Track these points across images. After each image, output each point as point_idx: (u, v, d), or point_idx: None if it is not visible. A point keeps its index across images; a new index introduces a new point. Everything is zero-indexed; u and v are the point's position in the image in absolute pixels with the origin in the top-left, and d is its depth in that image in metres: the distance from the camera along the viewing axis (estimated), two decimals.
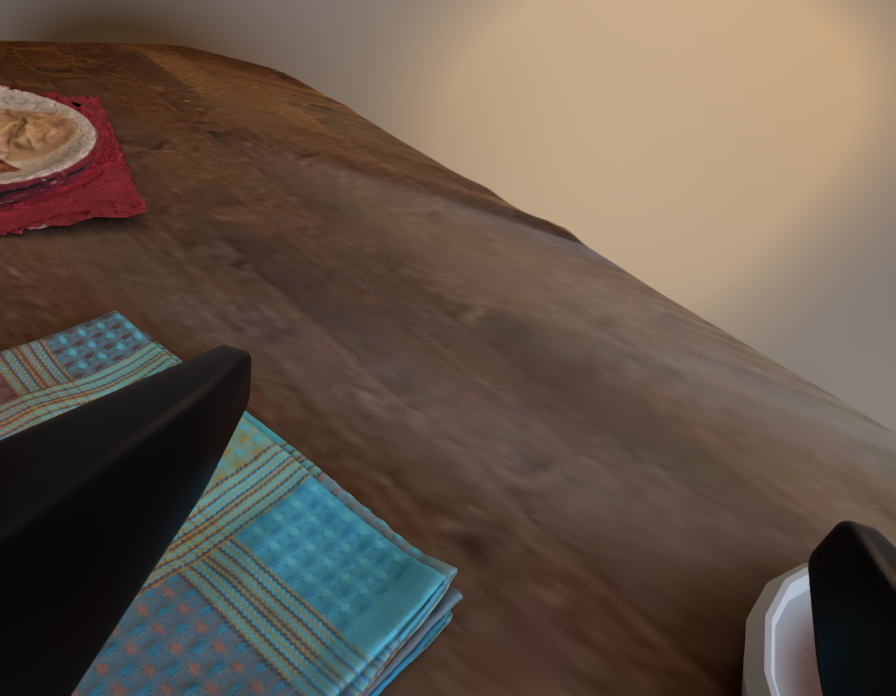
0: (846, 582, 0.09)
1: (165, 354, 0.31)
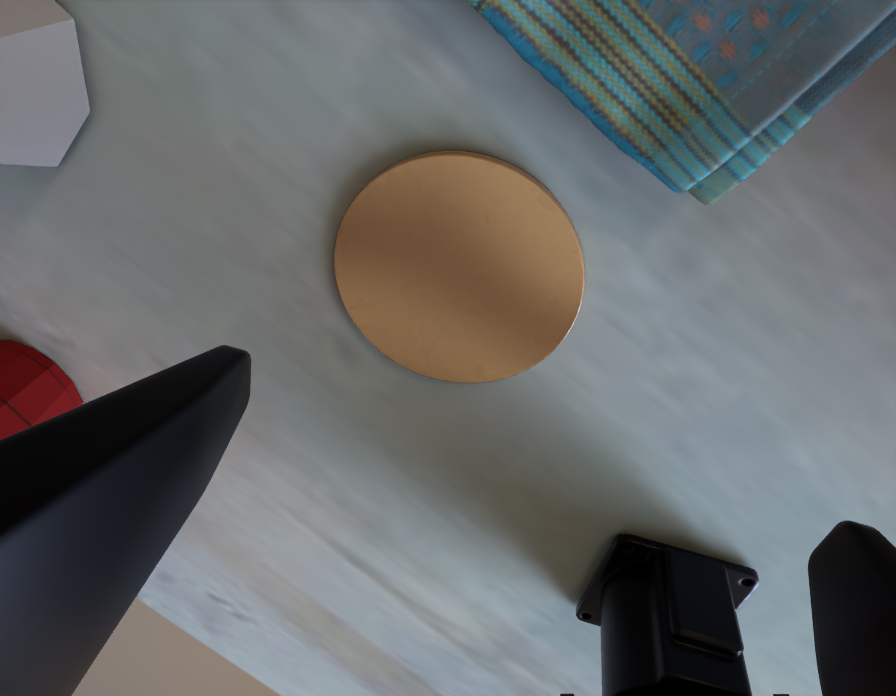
0: (846, 582, 0.09)
1: None
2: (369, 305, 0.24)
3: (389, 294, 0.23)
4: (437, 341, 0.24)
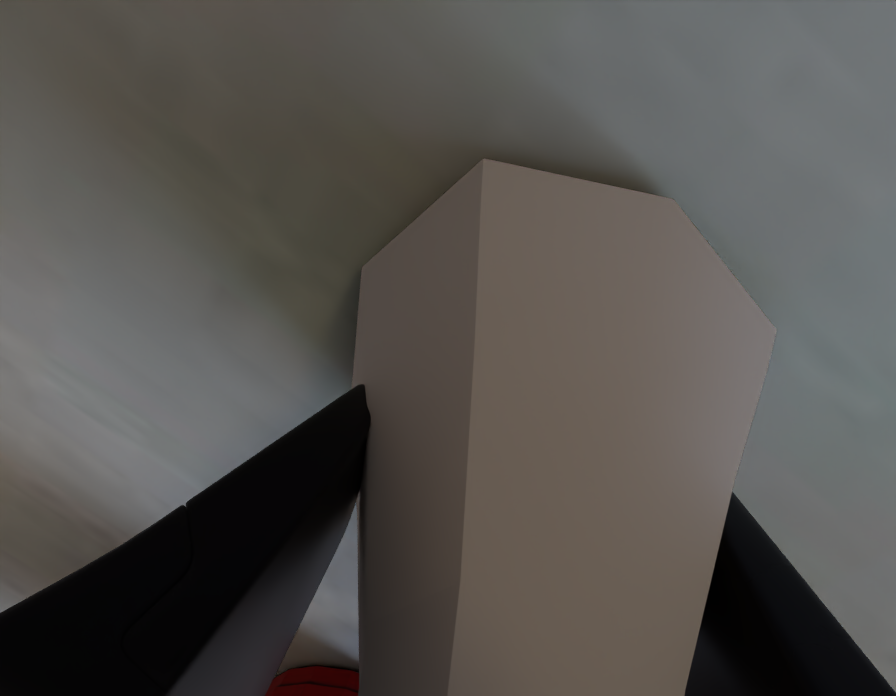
0: None
1: None
2: None
3: None
4: None
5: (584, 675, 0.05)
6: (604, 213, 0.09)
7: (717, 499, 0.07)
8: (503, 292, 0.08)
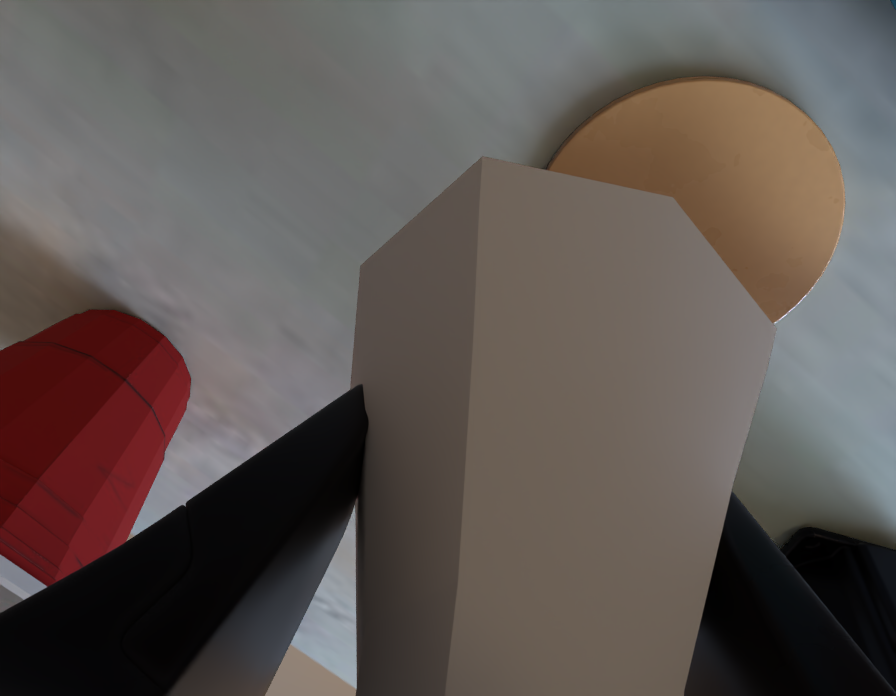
0: None
1: None
2: None
3: None
4: None
5: (583, 675, 0.05)
6: (603, 211, 0.09)
7: (716, 498, 0.07)
8: (502, 291, 0.08)
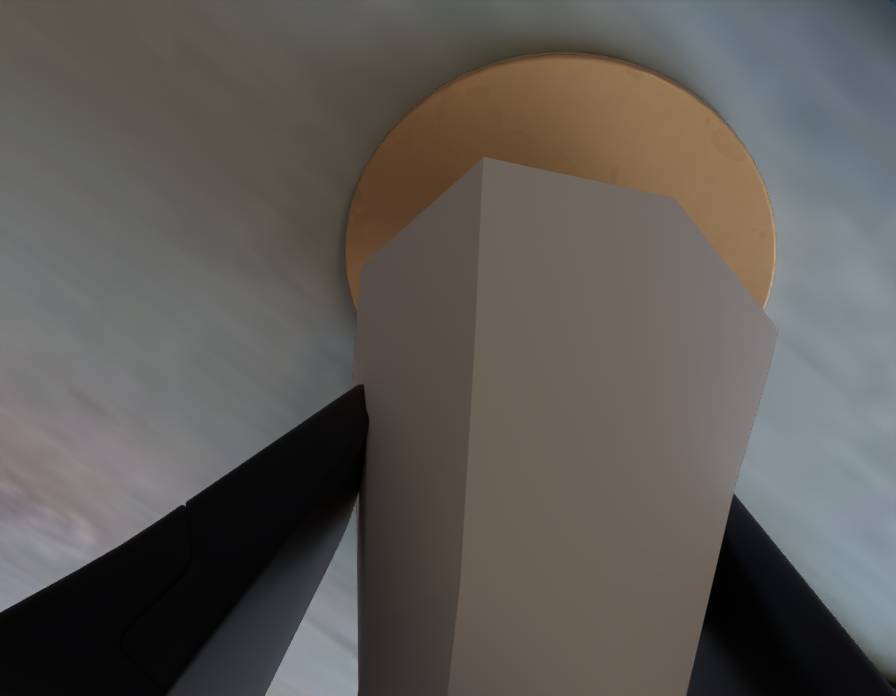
0: None
1: None
2: None
3: None
4: None
5: (585, 678, 0.05)
6: (604, 211, 0.09)
7: (718, 500, 0.07)
8: (503, 292, 0.08)
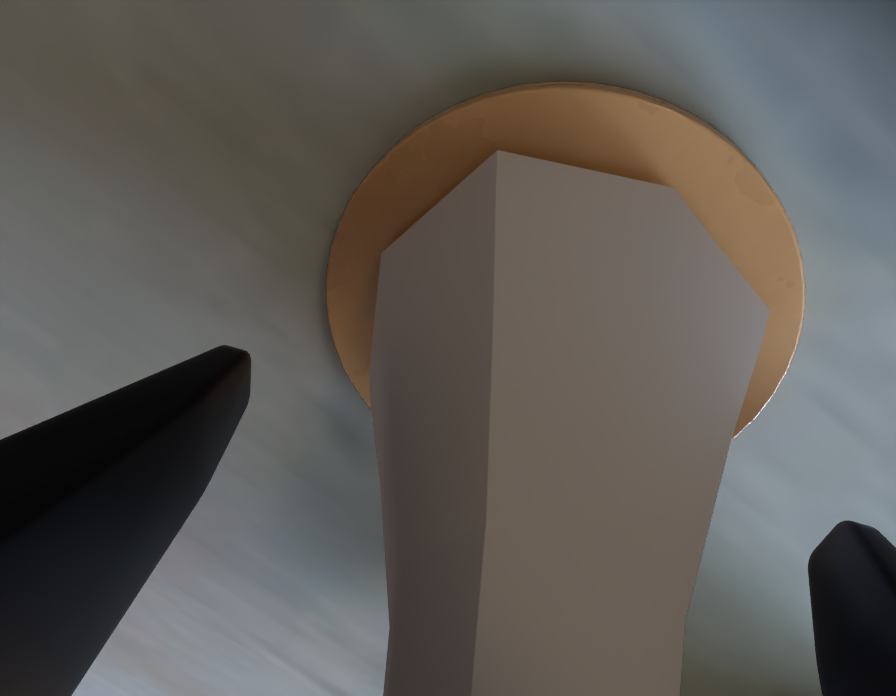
0: (846, 582, 0.09)
1: None
2: None
3: None
4: None
5: (597, 600, 0.06)
6: (610, 200, 0.10)
7: (714, 459, 0.08)
8: (518, 272, 0.09)
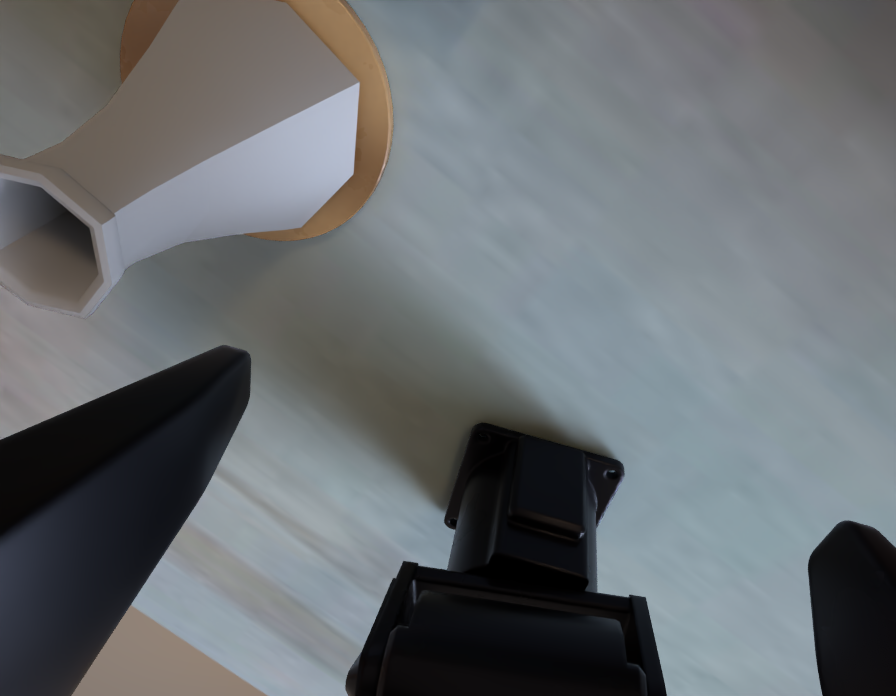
0: (845, 582, 0.09)
1: None
2: None
3: None
4: None
5: (144, 128, 0.14)
6: (244, 6, 0.18)
7: (264, 120, 0.16)
8: (175, 32, 0.17)
